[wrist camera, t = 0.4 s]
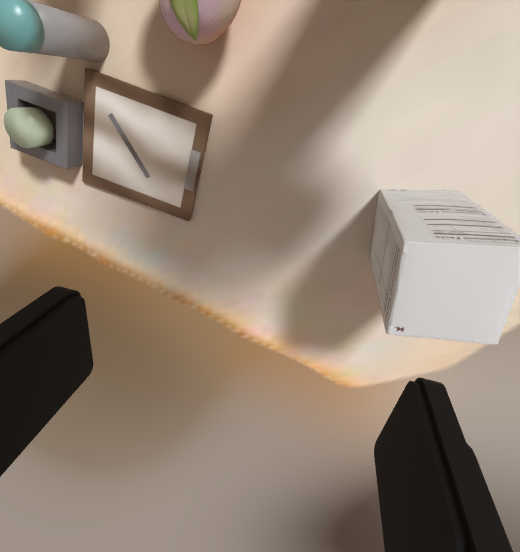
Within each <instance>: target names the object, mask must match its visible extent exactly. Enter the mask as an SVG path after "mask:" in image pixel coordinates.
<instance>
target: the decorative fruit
mask: <svg viewBox="0 0 520 552" xmlns="http://www.w3.org/2000/svg"><path fill="white" fill-rule="evenodd" d="M159 1H160V8H161V12H162V15H163V18H164V20H165V22H166V24H167V26H168V28H169V29H170V30H171V31H172V32H173V34H174V35H175V36H177V37H178V38H179V39H181V40H182V41H185V42H187V43H190V44H197V45H201V44H207V43H210V42H212V41H214V40H216V39H217V38H218V37H220V36H221V35H222V34H223V33H224V32H225V31H226V29H227V28H228V27H229V26H230V24H231V23H232V21H233V19H234V18H235V16H236V14H237V11H238V9H239V6H240V3H241V0H159Z"/></svg>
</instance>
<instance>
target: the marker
mask: <svg viewBox="0 0 520 552" xmlns="http://www.w3.org/2000/svg"><path fill="white" fill-rule="evenodd" d="M0 46H1V47H2V48H4V49H6V50H10V51H18V52H26V53H38V54H45V55H53V56H61V57H68V58H76V59H83V60H91V61H101V60H103V59H104V58H105V57H106V56H107V54H108V52H109V38H108V35H107V32H106V31H105V29H104V27H103V26H102V25H101V24H100V23H99V22H97V21H95V20H93V19H90V18H86V17H83V16H80V15H76V14H73V13H70V12H66V11H63V10H60V9H57V8H53V7H50V6H47V5H43V4H40V3H37V2H33V1H30V0H0Z"/></svg>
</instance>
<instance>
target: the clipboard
mask: <svg viewBox="0 0 520 552" xmlns="http://www.w3.org/2000/svg"><path fill="white" fill-rule="evenodd" d="M212 116H213V115H212V114H209V113H206V112H203V111H201V110H198V109H195V108H193V107H190V106H187V105H185V104H182V103H179V102H177V101H174V100H171V99H169V98H166V97H163V96H161V95H158V94H155V93H153V92H150V91H147V90H145V89H142V88H139V87H137V86H134V85H131V84H129V83H126V82H123V81H121V80H118V79H115V78H113V77H110V76H107V75H104V74H102V73H99V72H96V71H94V70H91V69H88V68H85V97H84V137H83V178H82V181H84V182H87V183H90V184H92V185H95V186H97V187H100V188H103V189H105V190H108V191H111V192H113V193H116V194H118V195H121V196H124V197H126V198H129V199H132V200H134V201H137V202H140V203H142V204H145V205H147V206H150V207H153V208H155V209H158V210H161V211H163V212H166V213H169V214H171V215H174V216H176V217H179V218H182V219H184V220H187V221H190V219H191V214H192V210H193V205H194V200H195V196H196V191H197V186H198V182H199V177H200V172H201V168H202V163H203V158H204V154H205V149H206V144H207V140H208V135H209V130H210V125H211V121H212Z"/></svg>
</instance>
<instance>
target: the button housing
mask: <svg viewBox="0 0 520 552" xmlns="http://www.w3.org/2000/svg"><path fill="white" fill-rule="evenodd" d="M5 87H6V98H7V110H9V109H10V108H19V107H35V108H37V106H40V107H43V108H45V109H48V110H50V111H53V112H56V144H55V143H52V142H51V143H50V144H48V145H44V146H39V147H33V148H23V147H21V146H19V145H18V144H16V143H15V142H14V141H13V140H12V139H11V138H10V144H11V148H13V149H16V150H18V151H21V152H24V153H26V154H29V155H31V156H34V157H37V158H39V159H42V160H45V161H47V162H50V163H53V164H55V165H58V166H60V167H63V168H66V169H69V168H73V167H76V166H80V165H82V155H83V113H84V103H83V102H80V101H78V100H75V99H72V98H70V97H67V96H64V95H62V94H59V93H56V92H54V91H51V90H48V89H46V88H43V87H40V86H38V85H35V84H32V83H30V82H27V81H16V80H5Z"/></svg>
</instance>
